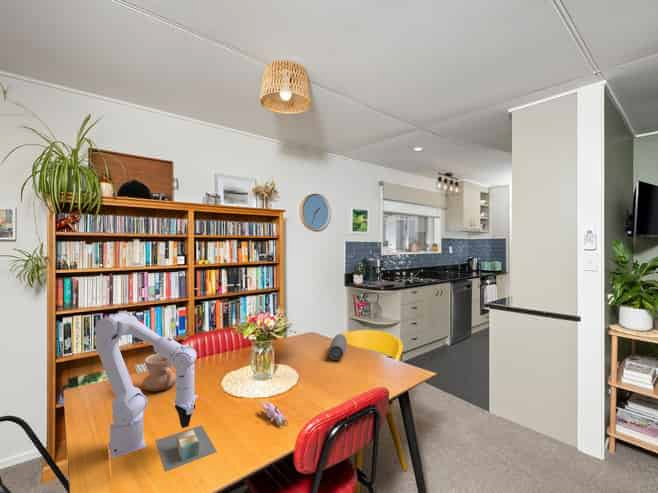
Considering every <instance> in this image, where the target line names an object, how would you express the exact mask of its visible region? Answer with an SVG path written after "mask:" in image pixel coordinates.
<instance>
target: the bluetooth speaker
mask: <svg viewBox="0 0 658 493" xmlns="http://www.w3.org/2000/svg"><path fill="white" fill-rule="evenodd" d="M347 343H348V342H347V337H346V336H345V335H344V334H340V333H339V334H337V335H335V336H334V337H333V339H332V341H331V343H330V346H329V350H328V353H329V354H328V355H329V357H330V358H331V359H332V360H336V361H337V360H340V359H342V357H343V356H344V354H345V352H346V350H347Z"/></svg>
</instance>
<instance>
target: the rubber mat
mask: <svg viewBox="0 0 658 493" xmlns="http://www.w3.org/2000/svg"><path fill="white" fill-rule="evenodd" d="M191 430H193V431H194V433H195V435H196V437H197V439H198V441H199V455H197V456H194V457H191V458H189V459H186V460H183V461H182V460H181V457H180V455H179V452H178V450H177V435H178V434H181V433H184V432H187V431H191ZM155 444H156V447H157V449H158V452H159V453H158V454H159V455H160V456H159V457H160V460H161V463H162V466H163V469H164V472H165V473H166V472H168V471H171V470H174V469H177V468H179V467H182V466H184V465H187V464H189V463H191V462H194V461H197V460H200V459H202V458H205V457H208V456H210V455H213V454H216V453H217V452H218V450H217V449H216V447H215V446H214V443H213V442H212V441H211V439H210V437H209V435H208V433H207V432H206V430H205V428H204V426H203V425H199V426H195V427H193V428H189V429H186V430H183V431H180V432H177V433H174V434H171V435H168V436H165V437H162V438H158V439H156V440H155Z"/></svg>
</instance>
